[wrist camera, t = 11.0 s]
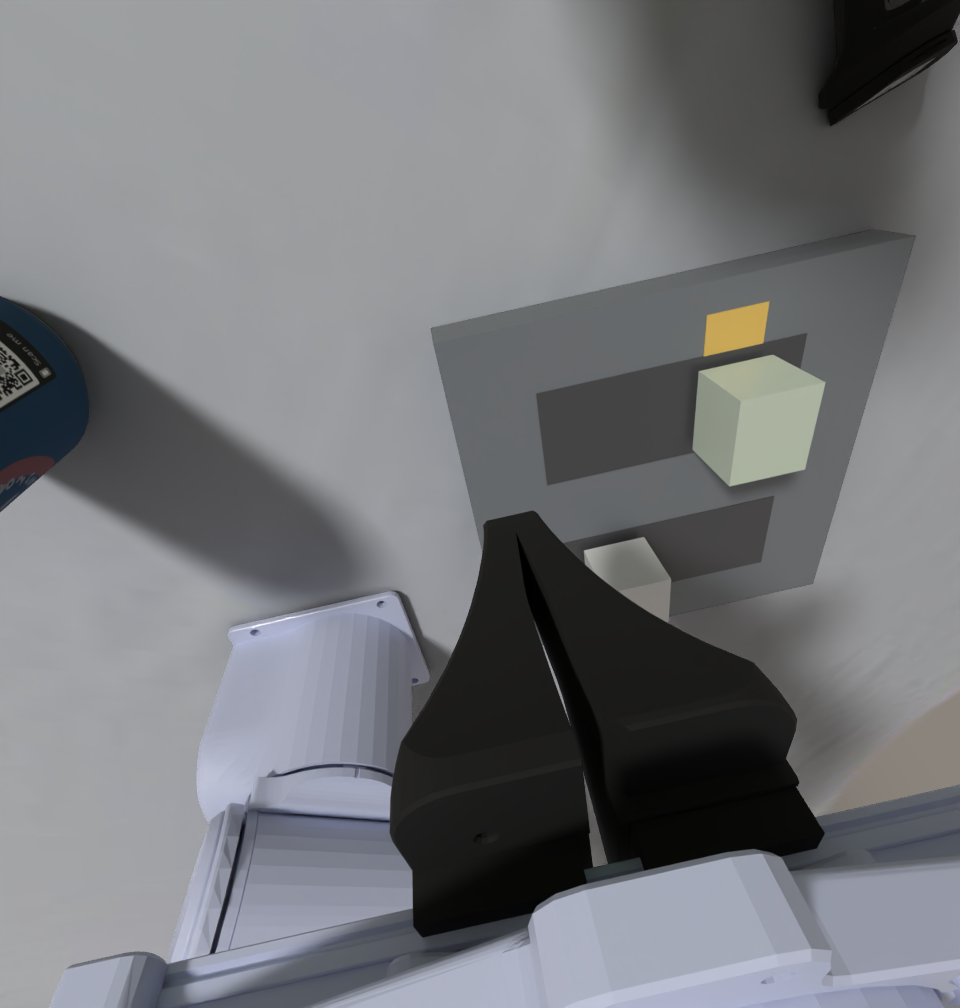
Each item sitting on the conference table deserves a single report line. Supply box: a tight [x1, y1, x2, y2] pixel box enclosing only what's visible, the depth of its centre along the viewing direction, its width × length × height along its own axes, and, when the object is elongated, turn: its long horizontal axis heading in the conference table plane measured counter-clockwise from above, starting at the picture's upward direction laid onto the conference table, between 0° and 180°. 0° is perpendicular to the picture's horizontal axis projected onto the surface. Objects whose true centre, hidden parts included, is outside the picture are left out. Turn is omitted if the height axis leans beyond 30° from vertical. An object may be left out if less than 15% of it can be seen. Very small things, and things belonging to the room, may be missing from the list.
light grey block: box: [584, 537, 671, 623], centre depth 24 cm, size 3×4×3 cm
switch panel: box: [431, 229, 915, 645], centre depth 24 cm, size 18×18×2 cm
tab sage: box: [692, 355, 826, 487], centre depth 19 cm, size 3×4×3 cm
